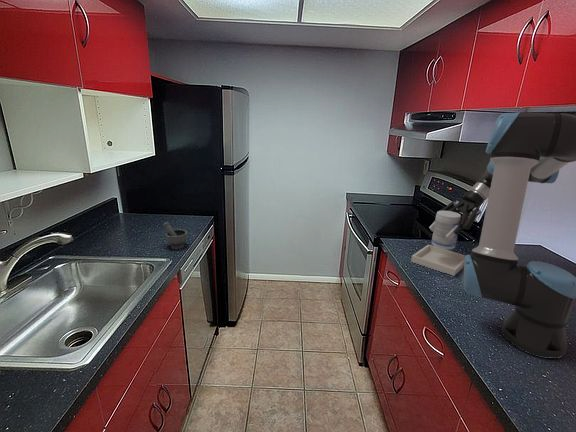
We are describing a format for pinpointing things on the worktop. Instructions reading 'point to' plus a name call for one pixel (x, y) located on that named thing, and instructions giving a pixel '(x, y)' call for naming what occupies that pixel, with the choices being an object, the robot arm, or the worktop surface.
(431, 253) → the tray
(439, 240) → the supplement tub
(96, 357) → the worktop surface
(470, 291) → the robot arm
